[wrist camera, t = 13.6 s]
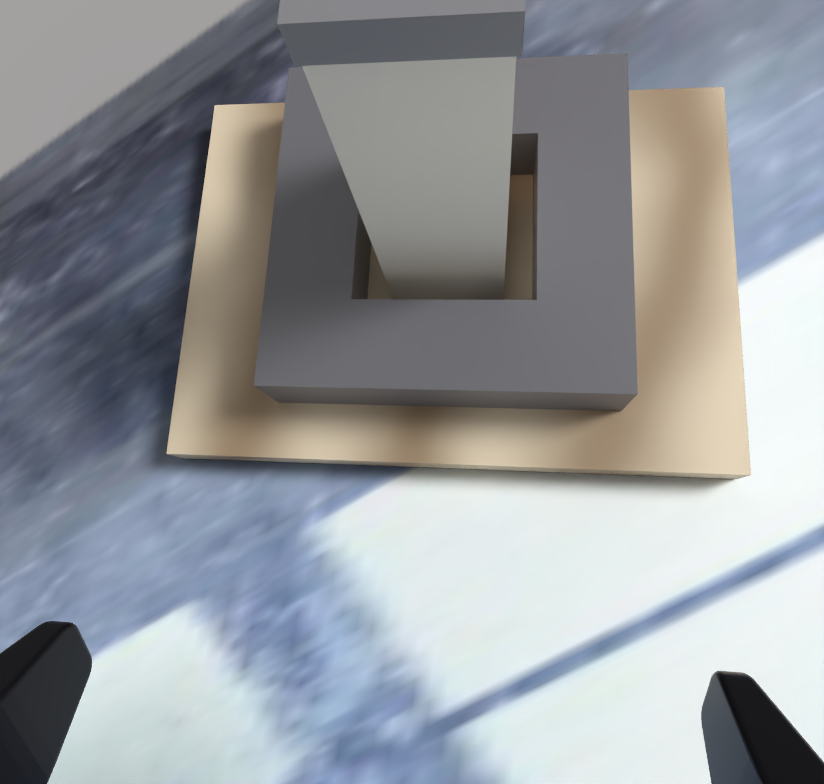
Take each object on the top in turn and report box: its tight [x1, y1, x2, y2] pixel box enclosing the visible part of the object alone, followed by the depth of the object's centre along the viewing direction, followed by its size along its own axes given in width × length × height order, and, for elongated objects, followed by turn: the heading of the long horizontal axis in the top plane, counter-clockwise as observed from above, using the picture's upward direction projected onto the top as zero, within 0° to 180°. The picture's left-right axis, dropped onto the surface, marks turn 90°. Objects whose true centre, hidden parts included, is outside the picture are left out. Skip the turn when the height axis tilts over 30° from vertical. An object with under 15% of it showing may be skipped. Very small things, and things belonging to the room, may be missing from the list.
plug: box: [277, 0, 525, 300], centre depth 18 cm, size 4×5×13 cm
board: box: [166, 87, 751, 479], centre depth 24 cm, size 20×14×1 cm
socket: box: [254, 54, 638, 411], centre depth 23 cm, size 12×12×2 cm
